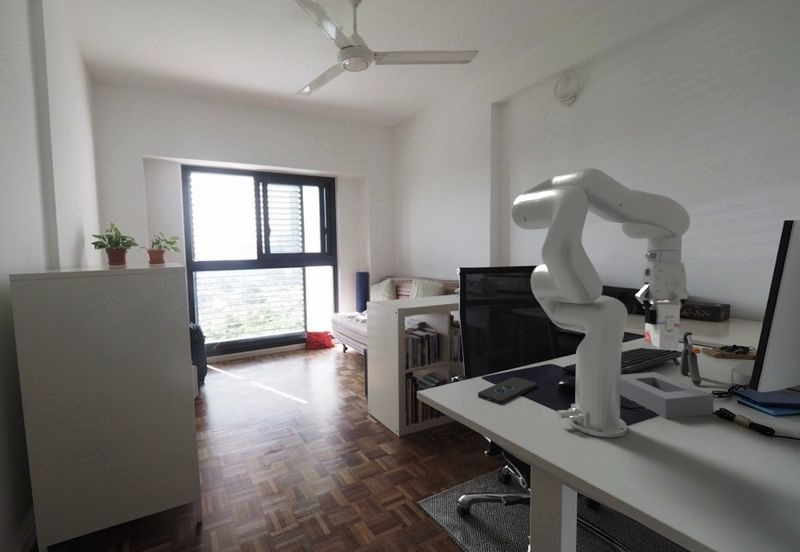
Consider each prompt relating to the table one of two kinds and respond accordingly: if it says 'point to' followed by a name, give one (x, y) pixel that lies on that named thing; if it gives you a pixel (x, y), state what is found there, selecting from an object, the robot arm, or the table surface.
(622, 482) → the table surface
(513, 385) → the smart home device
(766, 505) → the table surface
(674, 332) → the ink cartridge box
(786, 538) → the table surface
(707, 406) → the cartridge dock
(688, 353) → the hand grip strengthener
